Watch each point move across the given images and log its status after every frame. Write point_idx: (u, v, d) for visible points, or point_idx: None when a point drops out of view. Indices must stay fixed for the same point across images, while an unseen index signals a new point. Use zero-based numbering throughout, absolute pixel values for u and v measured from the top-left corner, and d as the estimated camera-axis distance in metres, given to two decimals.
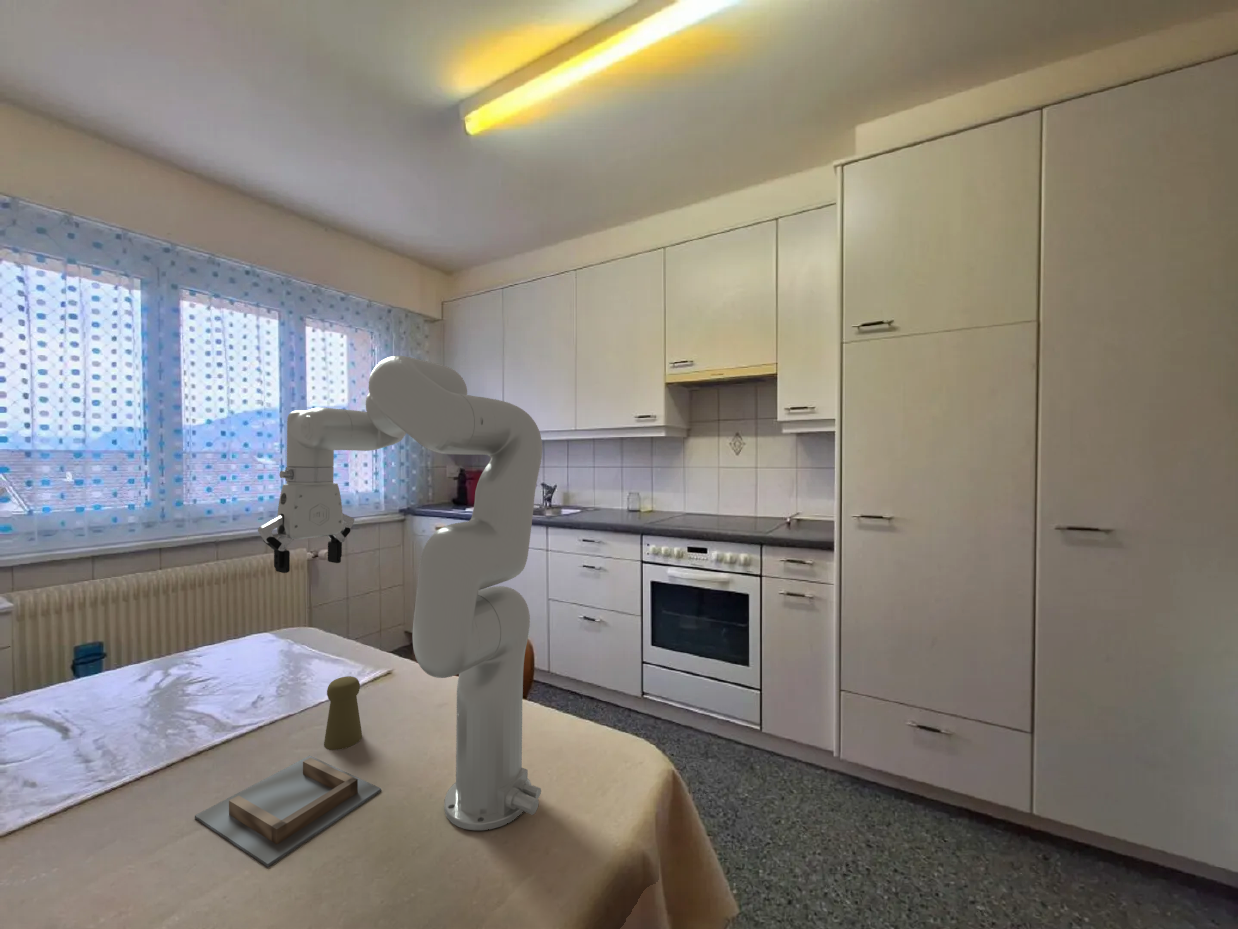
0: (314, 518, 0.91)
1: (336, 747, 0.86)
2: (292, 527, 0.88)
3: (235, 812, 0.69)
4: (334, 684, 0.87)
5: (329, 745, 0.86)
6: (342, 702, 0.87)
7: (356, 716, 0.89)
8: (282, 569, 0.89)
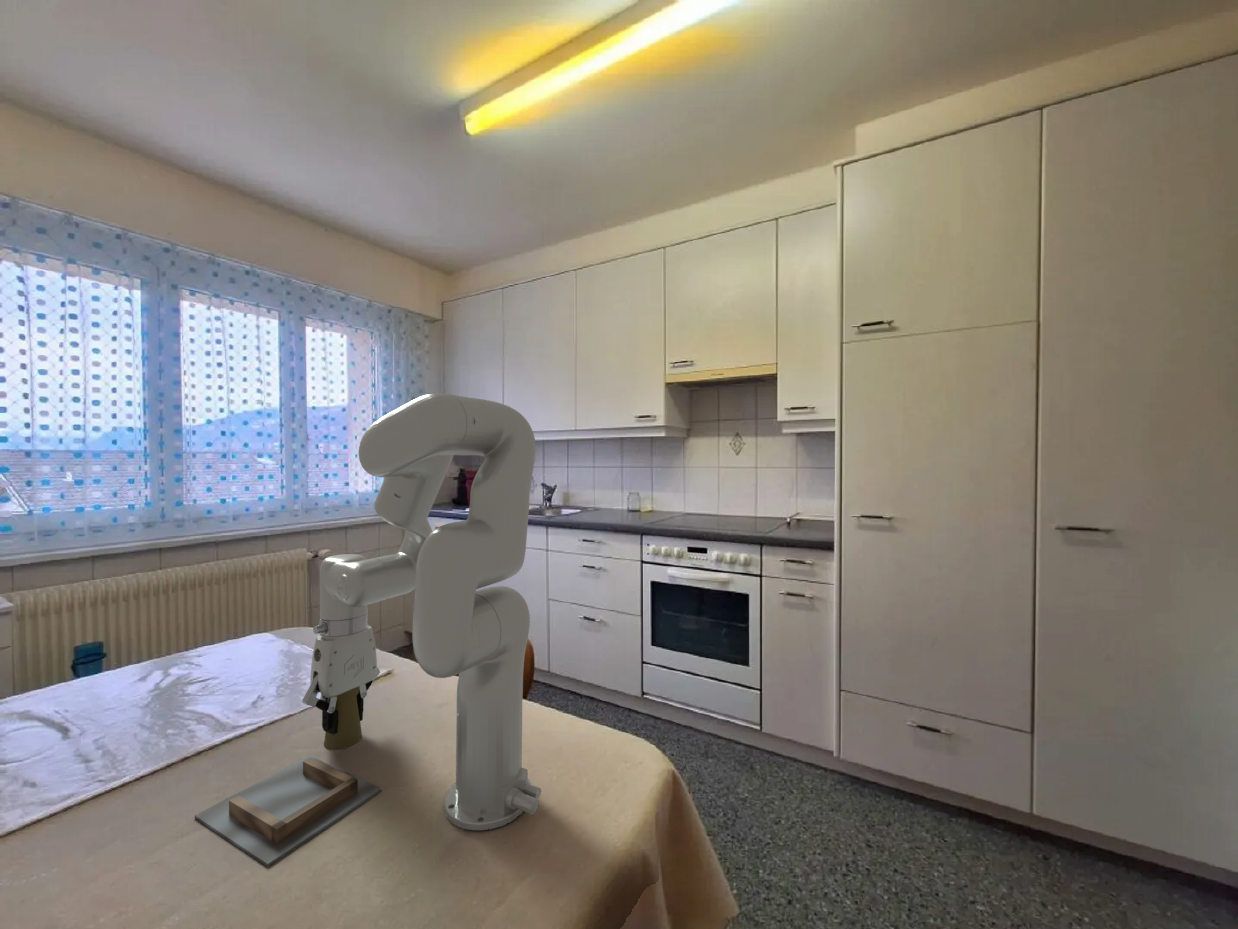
0: (349, 671, 0.87)
1: (336, 747, 0.86)
2: (327, 687, 0.84)
3: (235, 812, 0.69)
4: None
5: (329, 745, 0.86)
6: (342, 702, 0.87)
7: (356, 716, 0.89)
8: (330, 730, 0.86)
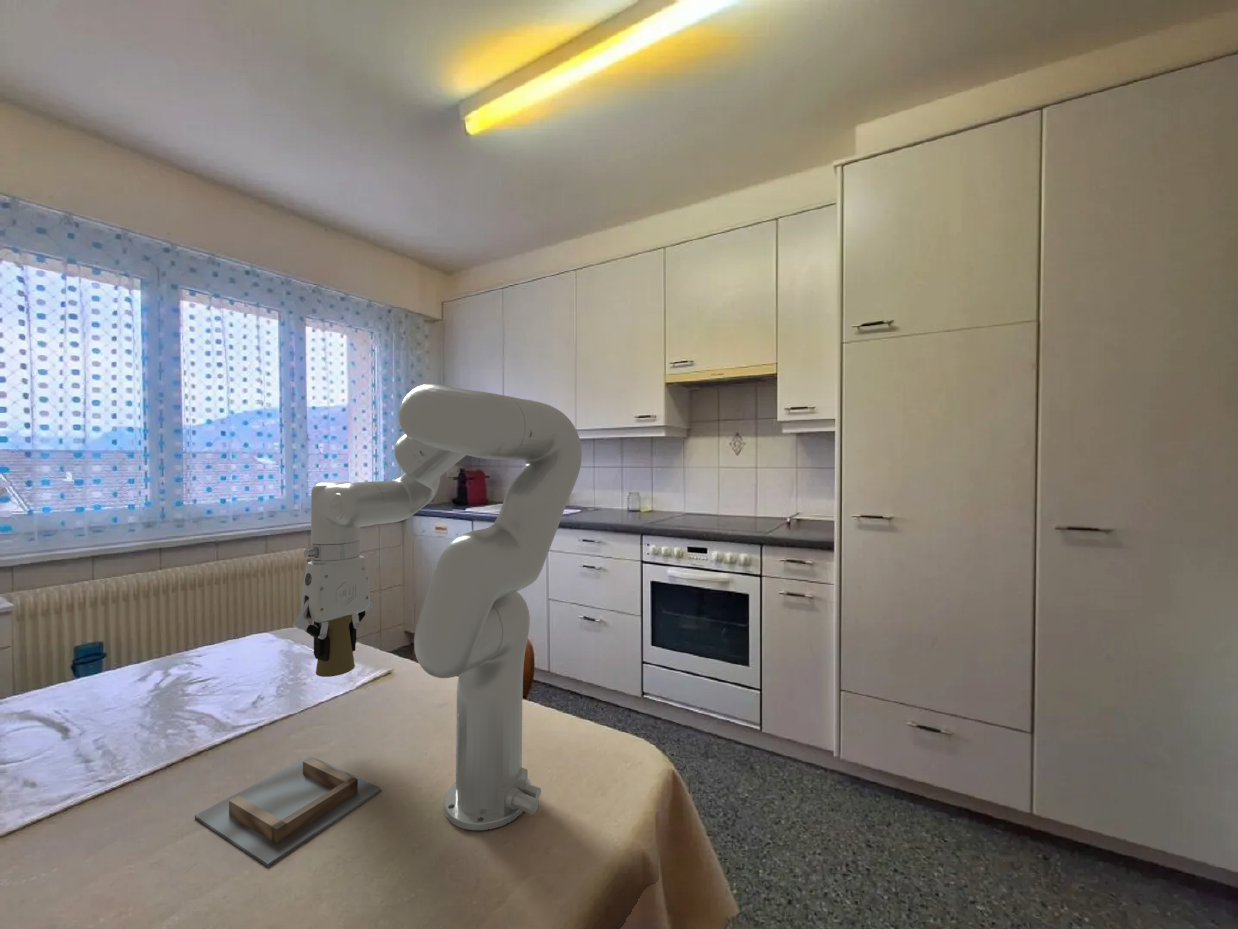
0: (340, 598, 0.86)
1: (327, 674, 0.85)
2: (318, 610, 0.82)
3: (235, 812, 0.69)
4: None
5: (320, 672, 0.85)
6: (334, 629, 0.86)
7: (348, 645, 0.87)
8: (322, 657, 0.85)
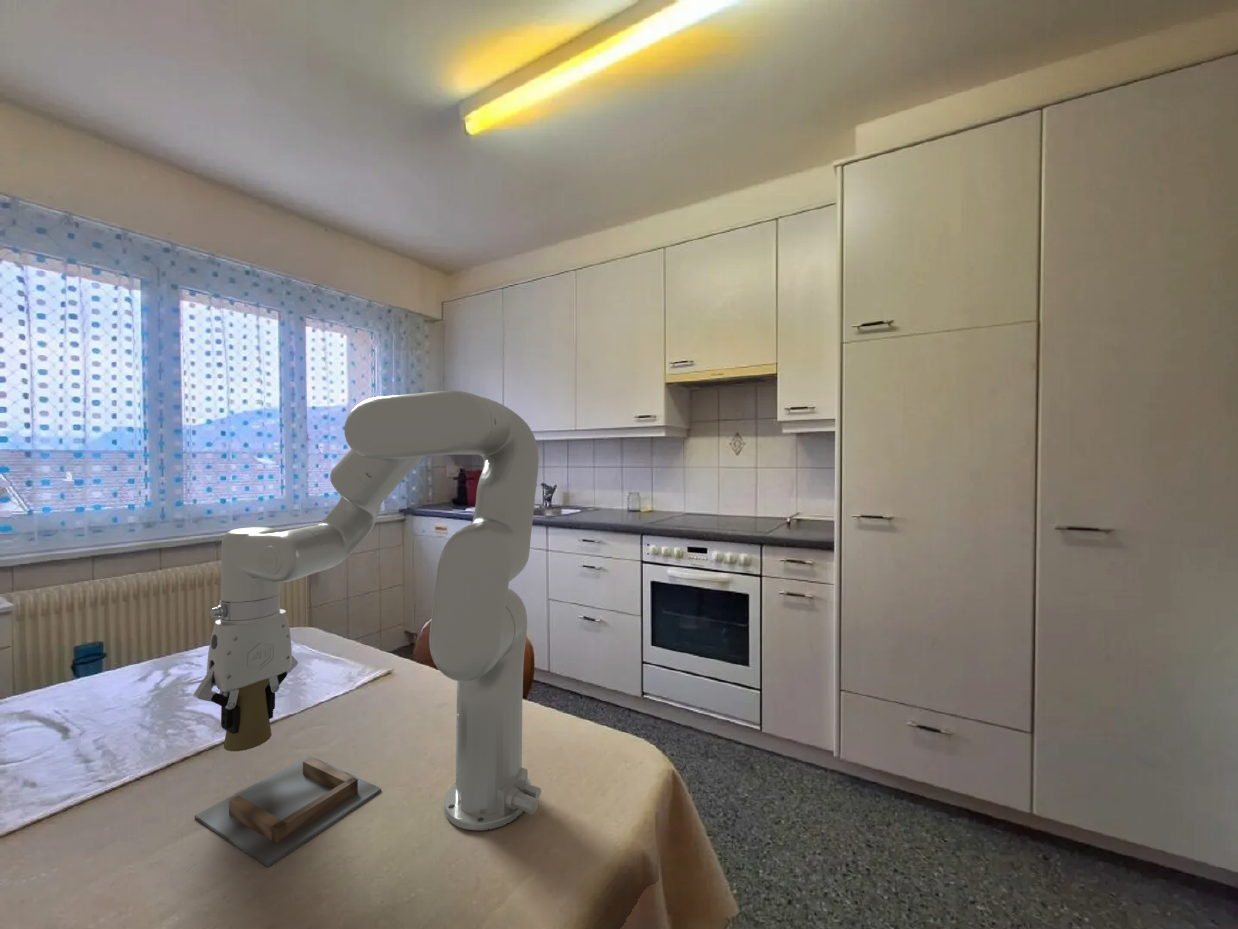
0: (253, 661, 0.75)
1: (236, 748, 0.75)
2: (224, 679, 0.72)
3: (235, 812, 0.69)
4: None
5: (228, 746, 0.75)
6: (245, 696, 0.76)
7: (263, 713, 0.77)
8: (231, 729, 0.75)
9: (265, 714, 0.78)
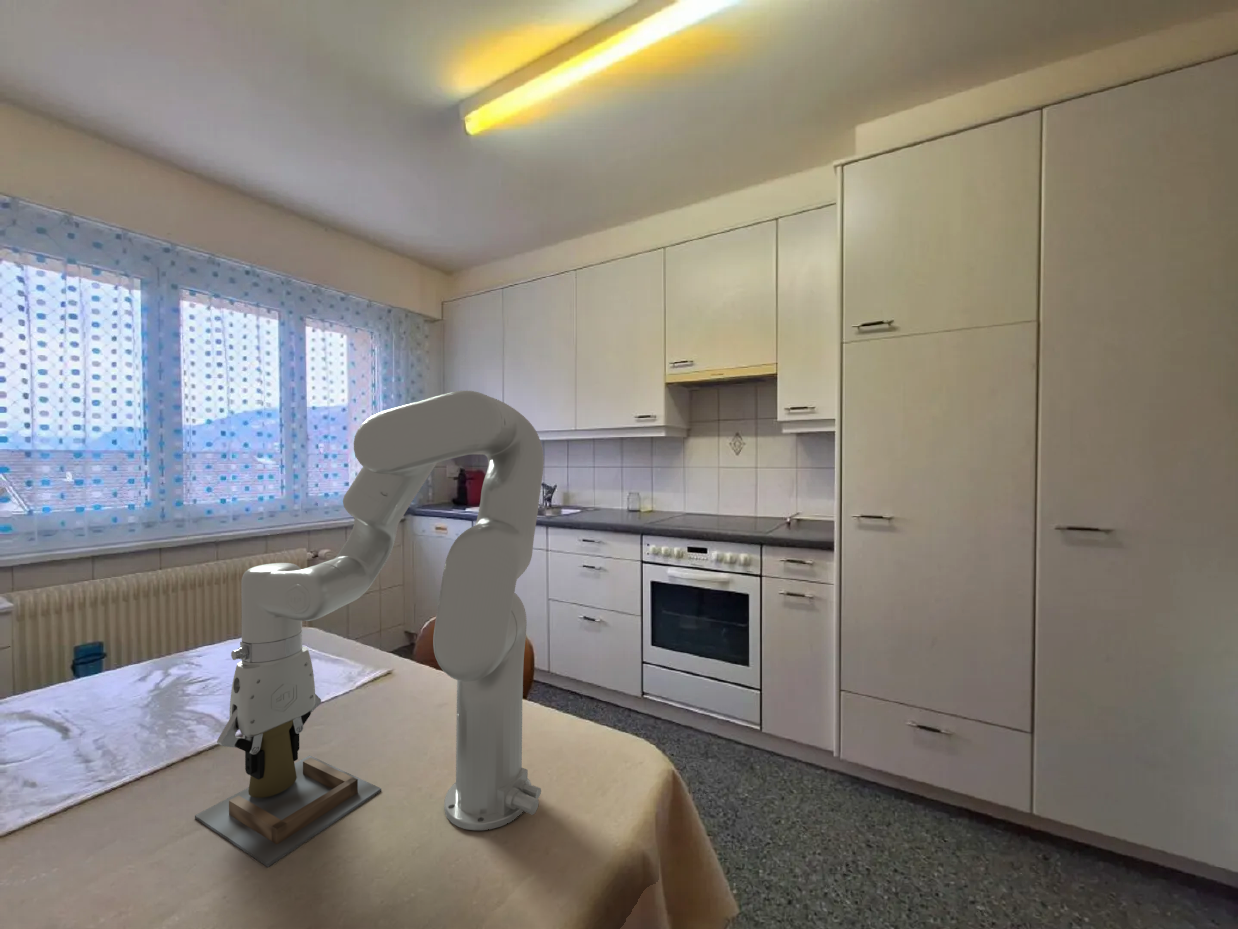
0: (277, 703, 0.73)
1: (261, 794, 0.72)
2: (247, 724, 0.70)
3: (235, 812, 0.69)
4: None
5: (253, 792, 0.72)
6: (269, 740, 0.73)
7: (287, 755, 0.75)
8: (255, 774, 0.72)
9: (290, 757, 0.75)
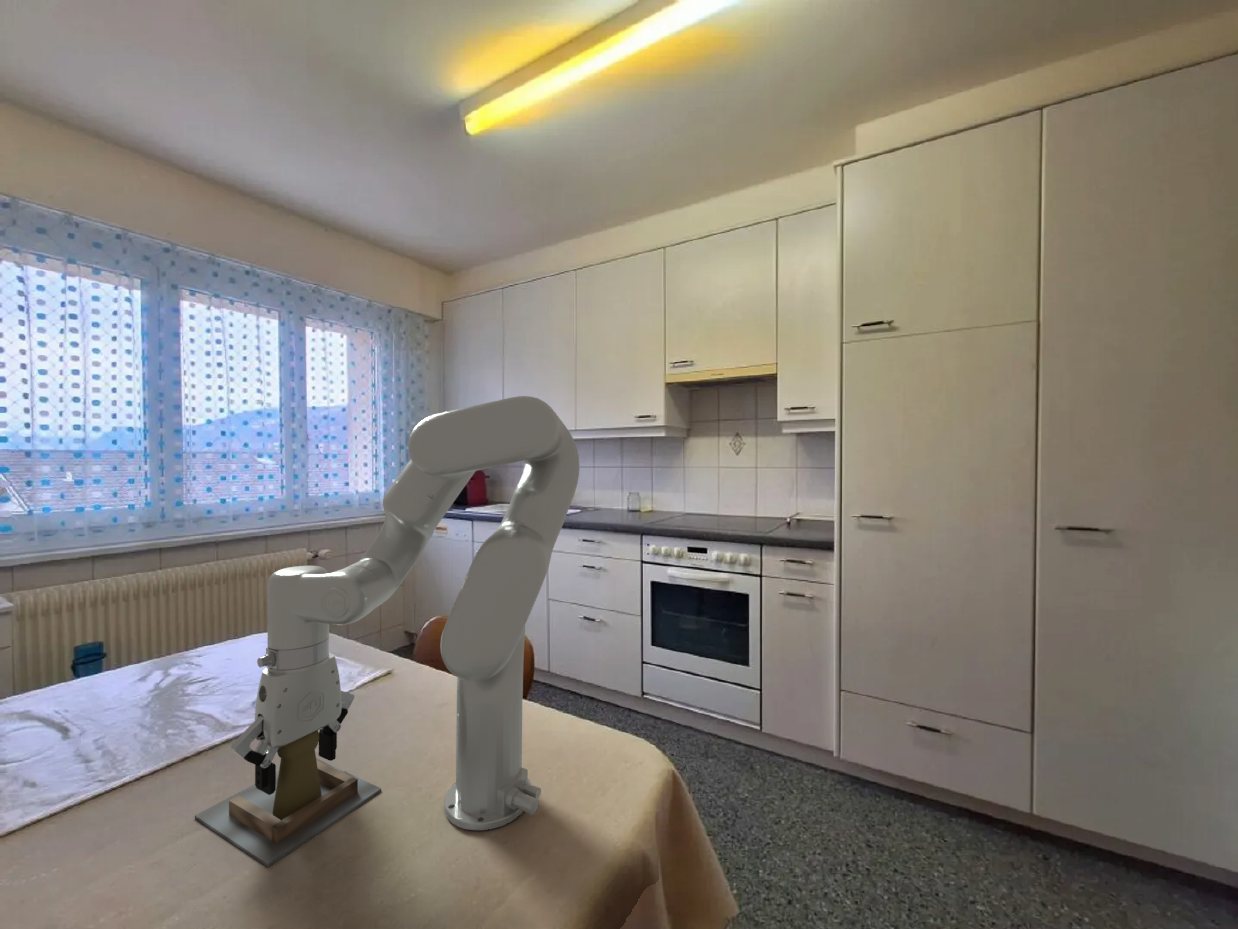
0: (304, 712, 0.70)
1: None
2: (274, 734, 0.66)
3: (235, 812, 0.69)
4: None
5: (278, 814, 0.69)
6: (295, 760, 0.70)
7: (313, 775, 0.71)
8: (266, 789, 0.68)
9: (316, 777, 0.72)
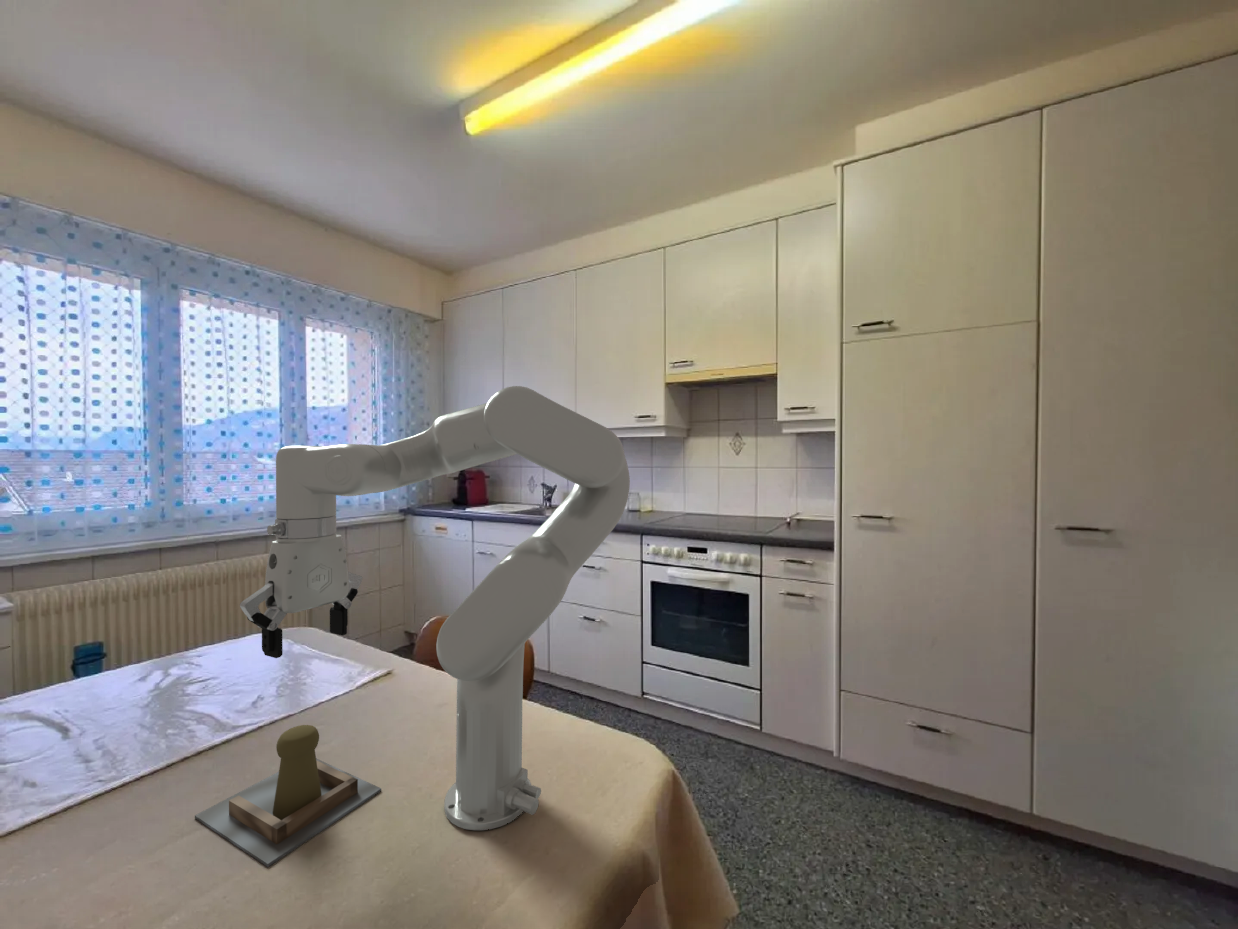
0: (313, 583, 0.71)
1: None
2: (285, 599, 0.68)
3: (235, 812, 0.69)
4: (286, 737, 0.70)
5: (278, 814, 0.69)
6: (295, 760, 0.70)
7: (313, 775, 0.71)
8: (273, 653, 0.68)
9: (316, 777, 0.72)
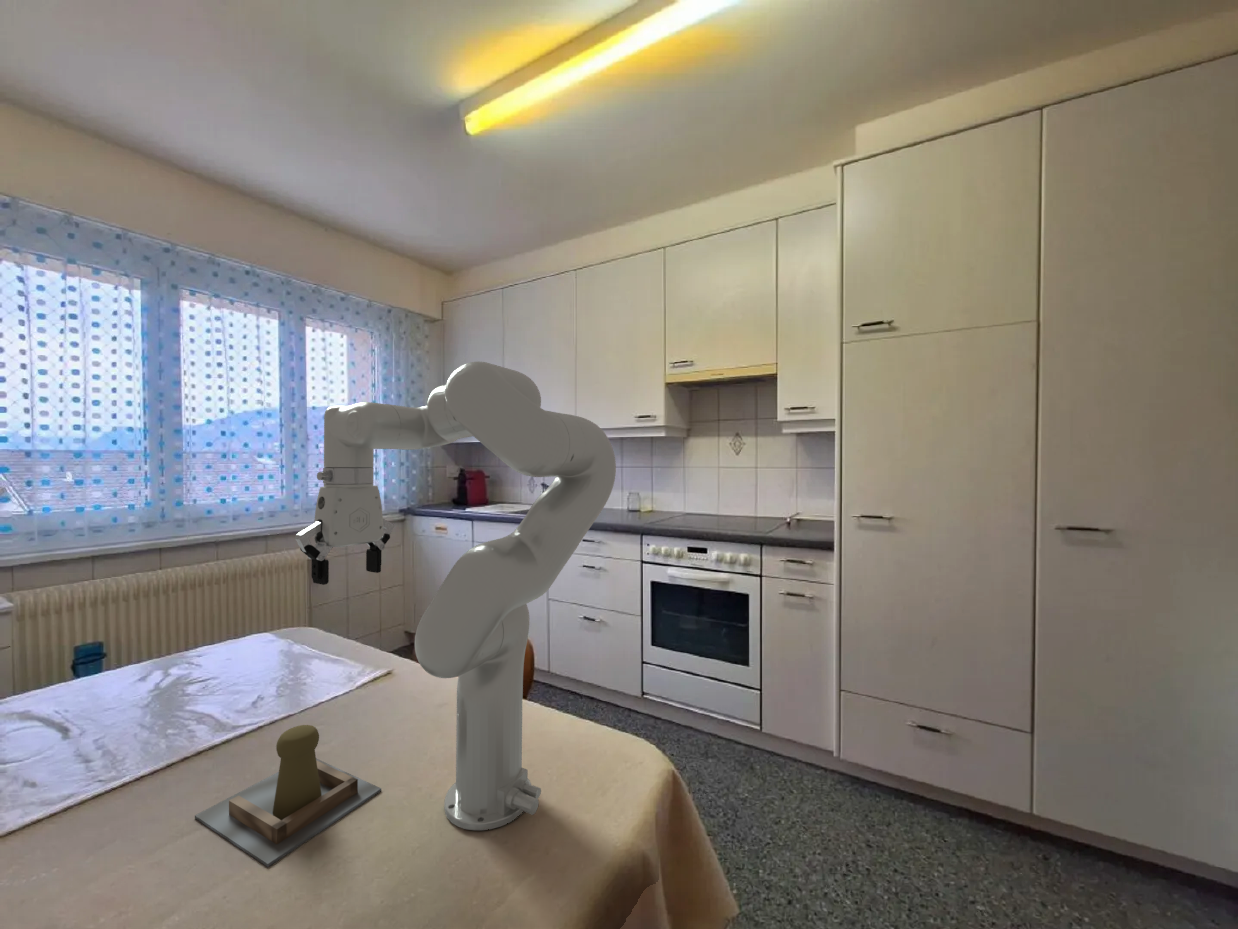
0: (354, 524, 0.83)
1: None
2: (331, 534, 0.80)
3: (235, 812, 0.69)
4: (286, 737, 0.70)
5: (278, 814, 0.69)
6: (295, 760, 0.70)
7: (313, 776, 0.71)
8: (320, 580, 0.80)
9: (315, 777, 0.72)
